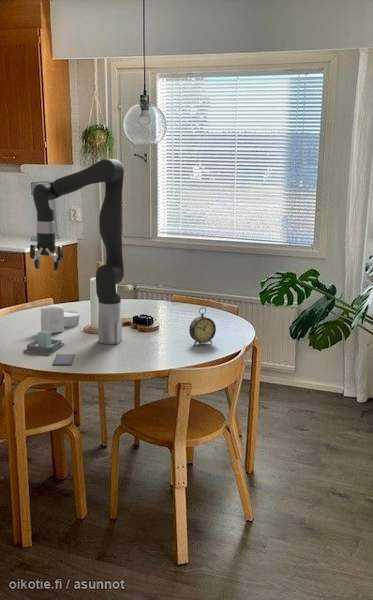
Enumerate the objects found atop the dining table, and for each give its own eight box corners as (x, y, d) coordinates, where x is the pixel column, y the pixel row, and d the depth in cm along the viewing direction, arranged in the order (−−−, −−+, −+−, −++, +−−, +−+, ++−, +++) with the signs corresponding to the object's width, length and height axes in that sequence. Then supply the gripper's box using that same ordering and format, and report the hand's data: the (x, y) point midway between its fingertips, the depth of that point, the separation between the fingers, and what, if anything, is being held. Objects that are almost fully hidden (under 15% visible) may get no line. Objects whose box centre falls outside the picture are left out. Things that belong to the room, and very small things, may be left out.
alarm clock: (193, 347, 245) (194, 309, 241) (187, 343, 250) (188, 306, 246) (215, 344, 250) (217, 307, 246) (209, 340, 254) (211, 304, 251)
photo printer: (61, 329, 264) (61, 303, 261) (65, 332, 260) (65, 305, 257) (39, 332, 258) (38, 305, 255) (43, 335, 254) (42, 307, 252)
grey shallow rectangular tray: (64, 345, 242) (64, 339, 241) (49, 355, 229) (49, 349, 228) (40, 342, 244) (39, 336, 244) (23, 352, 231) (23, 346, 231)
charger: (51, 345, 238) (51, 330, 237) (47, 348, 234) (46, 333, 233) (42, 344, 239) (42, 329, 238) (37, 347, 235) (37, 332, 233)
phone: (74, 356, 231) (74, 353, 230) (71, 367, 219) (71, 364, 219) (56, 356, 230) (56, 353, 230) (52, 367, 218) (52, 364, 218)
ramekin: (83, 322, 277) (83, 311, 276) (76, 328, 266) (76, 317, 265) (60, 320, 278) (59, 310, 277) (52, 327, 267) (52, 316, 266)
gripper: (65, 231, 251) (65, 269, 255) (34, 229, 254) (35, 266, 258) (57, 233, 244) (58, 272, 248) (26, 231, 247) (27, 269, 251)
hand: (46, 269), depth 253 cm, fingers open, 8 cm apart
